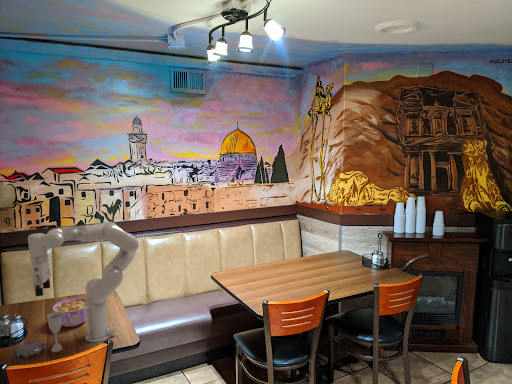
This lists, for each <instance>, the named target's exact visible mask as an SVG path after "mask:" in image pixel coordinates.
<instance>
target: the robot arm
mask: <svg viewBox="0 0 512 384" xmlns="http://www.w3.org/2000/svg"><path fill="white" fill-rule="evenodd" d="M99 240H101V241H102V240H106V241H108V242H110V243H111V244H112V245H113V246H115V247H118V248H119V251H118V252H117V254H116V255H115V256H114V258H112V259H111V260H110V261H109V262H108V263H107V264H106V265H105V266H104V267H103V269H102V271H101V276H102V277H101V278H92V279H90V280H88V282H87V283H86V285H85V288H84V289H85V298H86V301H87V328H88V333H87V334H86V335H85V340H86V341H87V342H89V343H99V342H103V341H105V340H107V339H108V338H110V337H111V335H112V333H113V334H116V333H117V328H115V327H110V326H109V325H108V314H107V313H108V311H107V309H108V308H107V299H108V298H109V297H110V296H111V295H112V294H113V293H114V292H115V291H116V289H118V288H119V287H120V285H121V283H122V282H123V280H124V273H123V272H124V271H125V270H126V269H127V268H128V267H129V265H130V264H131V263H133V259H134V258H135V256H136V251H137V250H138V248H139V245H140V243H139V241H138V239H137V238H136V236H134V235H133V234H132V233H129V232H126V231H124V229H122V228H121V227H119V226H118V225H117V223H114V222H112V221H108V222H101V223H96V224H95V223H94V224H87V225H79V226H78V225H73V226H72V225H71V226H64V227H56V228H52V229H50V230H48V231H47V233H46V234H45V233H43V232H42V233H41V232H38V233H37V232H36V233H31V234H29V235H28V236H27V242H28V251H29V260H30V264H32V266H31V267H32V268H31V269H32V270H31V271H32V279H33V282H32V284H33V287H34V288H33V289H34V291H35V292H34V293H35V296H36V297H42V296H44V290H45V289H50V288H51V283H50V278H51V276H52V275H51V268H50V263H49V254H48V249H51V248H52V249H54V248H55V249H56V248H59V247H60V246H62V245H63V243H64V242H69V241H78V242H79V241H80V242H84V243H90V242H95V241H99Z"/></svg>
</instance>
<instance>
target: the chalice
mask: <svg viewBox="0 0 512 384" xmlns="http://www.w3.org/2000/svg"><path fill="white" fill-rule="evenodd" d="M61 316H62V313H60V312H55V313H54V312H51V313H49V314H48V315H47V316H46V318H47V322H48V328H49V330H50V331H51V333H52V334H54V342H55V343H54V344H53V345H52V348H51V352H52V353H58V352H60V351H62V350H63V349H64V348H63V346H62V345H61V344H60V343H59V339H58V337H59V336H58V333H59V332H60V330H61V328H62V319H61Z"/></svg>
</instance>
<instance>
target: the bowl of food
mask: <svg viewBox="0 0 512 384" xmlns="http://www.w3.org/2000/svg"><path fill="white" fill-rule="evenodd" d="M52 311H53V312H52V313H55V312H60V313H62V316H61V319H62V325H61V327H62V326H63V327H67V328H73V327H77V326H79V325H81V324H82V323H84V322H85V321H87V320H88V317H87V301H86V297H73V298H67V299H64V300H61V301H58V302H56V303H55V304H54V305H53V307H52Z"/></svg>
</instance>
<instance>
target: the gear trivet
mask: <svg viewBox="0 0 512 384" xmlns="http://www.w3.org/2000/svg"><path fill="white" fill-rule="evenodd" d="M46 350H47V344H46V342H39V341H34V342H32V343H28V344H27V343H26V344H23V345H22V347H20V348H17V349H16V358H24V359H29V358H30V357H35V356H37V357H38V356H39V355H41V353H42V352H44V351H46Z"/></svg>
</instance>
